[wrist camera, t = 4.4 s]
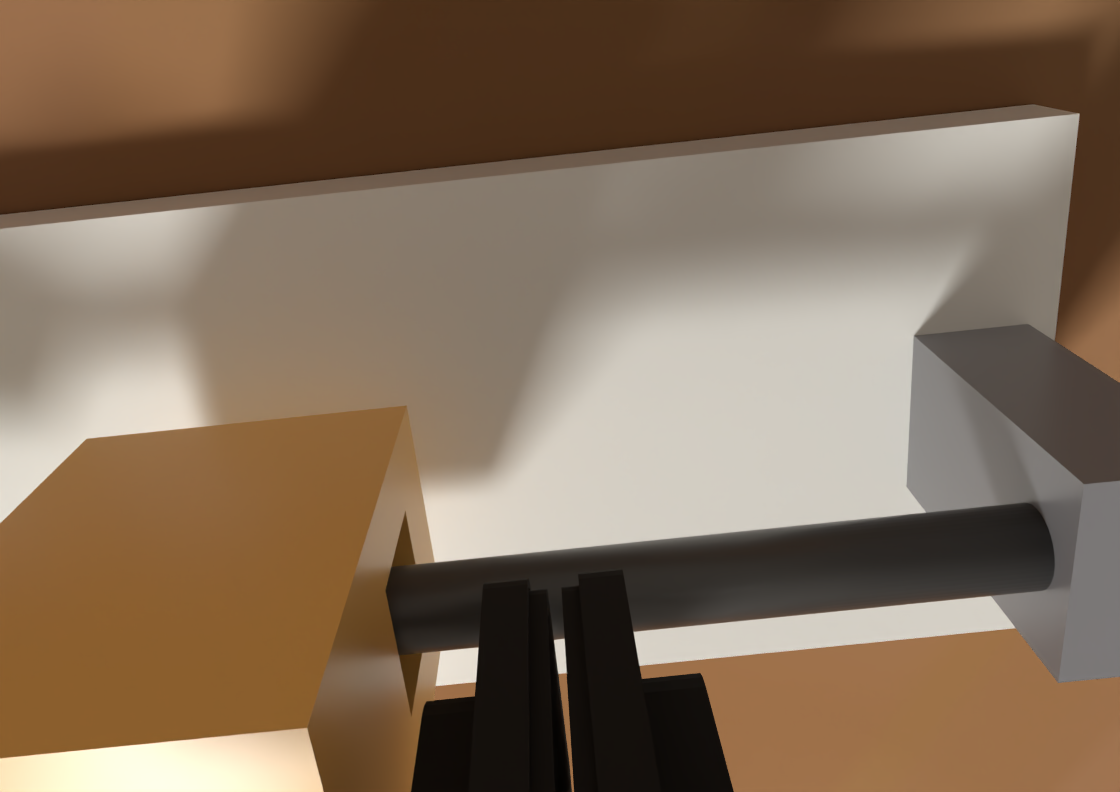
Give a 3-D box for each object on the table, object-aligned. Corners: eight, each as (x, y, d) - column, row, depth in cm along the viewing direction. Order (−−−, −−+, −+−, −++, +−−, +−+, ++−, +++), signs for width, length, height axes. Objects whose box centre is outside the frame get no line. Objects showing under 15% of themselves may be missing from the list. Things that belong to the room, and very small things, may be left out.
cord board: (1033, 104, 16) (1545, 207, 8) (989, 584, 20) (1307, 987, 12) (-482, 266, 17) (-1470, 523, 8) (-242, 708, 21) (-760, 1182, 12)
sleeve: (406, 405, 15) (306, 728, 8) (444, 619, 16) (386, 1034, 10) (87, 438, 15) (-267, 785, 8) (155, 649, 16) (-97, 1080, 10)
